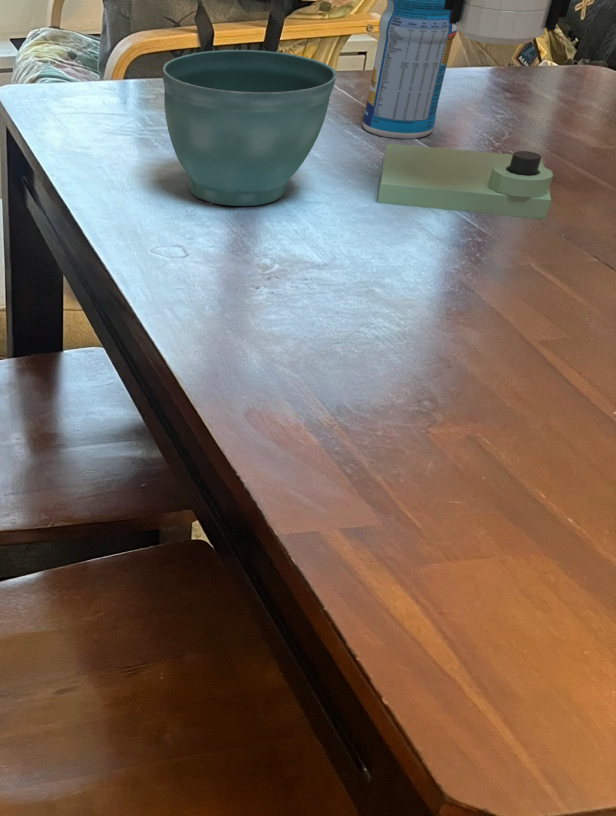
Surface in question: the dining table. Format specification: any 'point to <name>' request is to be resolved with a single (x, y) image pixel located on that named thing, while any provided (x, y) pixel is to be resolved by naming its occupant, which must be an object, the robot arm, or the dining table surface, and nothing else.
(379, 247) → the dining table surface
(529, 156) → the button
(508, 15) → the bowl
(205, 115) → the flower pot
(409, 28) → the beverage bottle
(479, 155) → the pale green flat block
